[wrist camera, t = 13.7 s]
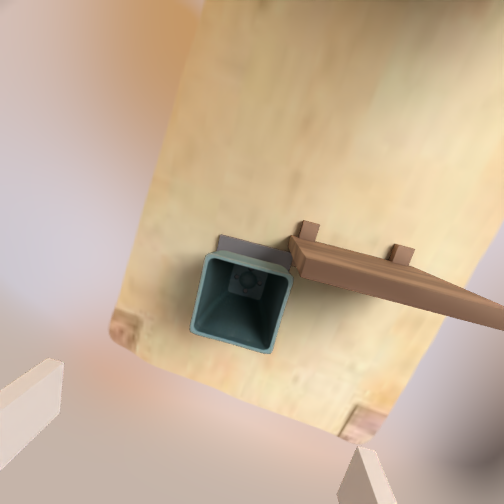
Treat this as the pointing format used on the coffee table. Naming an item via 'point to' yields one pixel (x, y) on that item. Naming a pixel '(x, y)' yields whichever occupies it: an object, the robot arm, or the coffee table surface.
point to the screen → (388, 279)
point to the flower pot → (241, 300)
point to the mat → (255, 252)
